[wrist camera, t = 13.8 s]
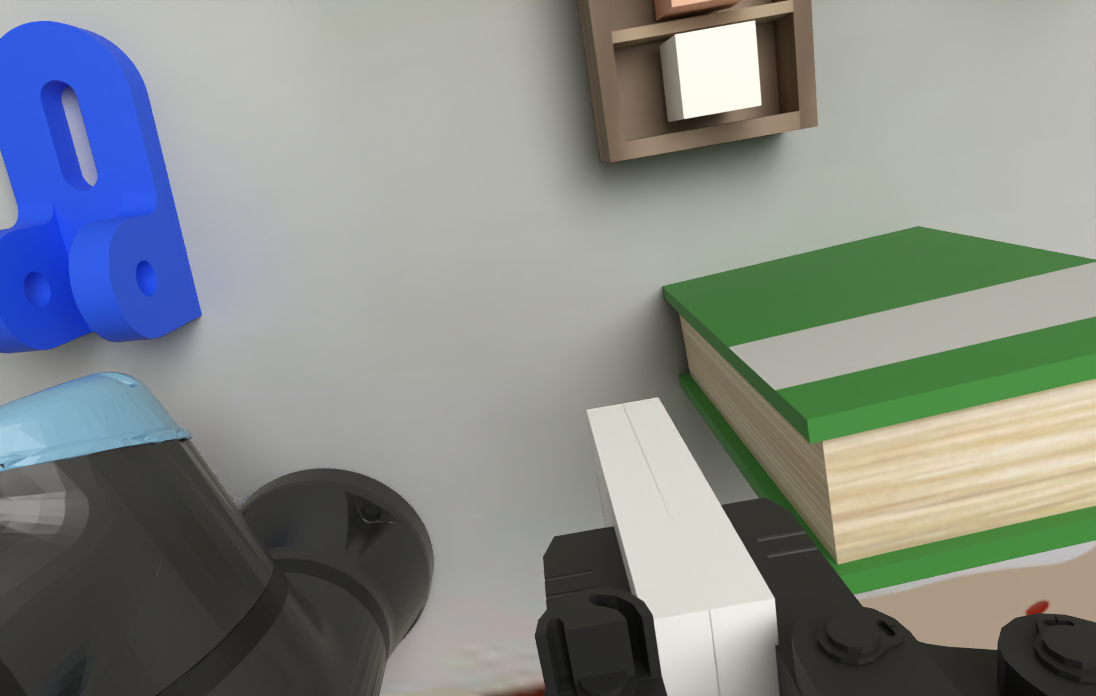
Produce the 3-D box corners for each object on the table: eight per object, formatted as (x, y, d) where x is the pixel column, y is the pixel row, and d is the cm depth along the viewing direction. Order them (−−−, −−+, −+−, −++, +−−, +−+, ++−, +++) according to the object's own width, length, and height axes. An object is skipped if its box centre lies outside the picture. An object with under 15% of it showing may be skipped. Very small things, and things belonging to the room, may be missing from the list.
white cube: (667, 121, 40) (684, 119, 37) (659, 45, 39) (675, 34, 35) (738, 109, 40) (761, 105, 37) (731, 33, 39) (755, 20, 35)
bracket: (203, 314, 46) (130, 352, 37) (77, 327, 46) (-25, 368, 37) (131, 21, 41) (27, -14, 32) (-10, 34, 41) (-152, 3, 32)
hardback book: (680, 386, 49) (830, 599, 25) (662, 286, 46) (807, 419, 23) (925, 329, 48) (1302, 493, 25) (918, 226, 46) (1320, 302, 23)
